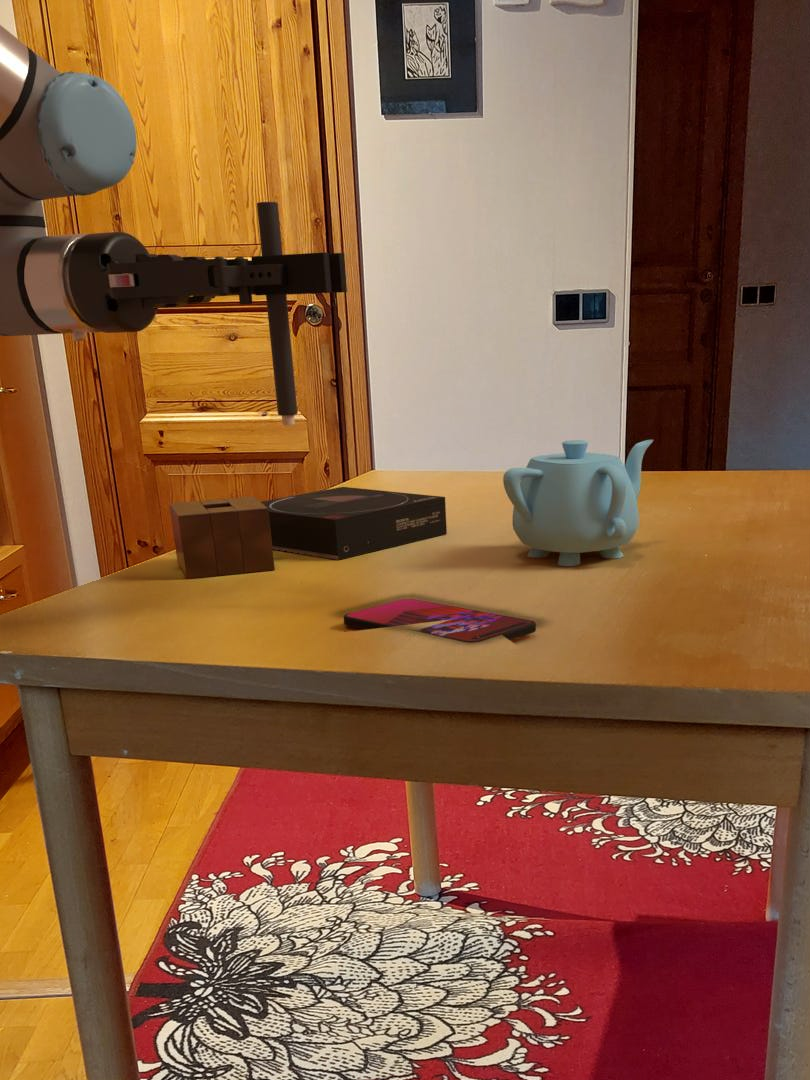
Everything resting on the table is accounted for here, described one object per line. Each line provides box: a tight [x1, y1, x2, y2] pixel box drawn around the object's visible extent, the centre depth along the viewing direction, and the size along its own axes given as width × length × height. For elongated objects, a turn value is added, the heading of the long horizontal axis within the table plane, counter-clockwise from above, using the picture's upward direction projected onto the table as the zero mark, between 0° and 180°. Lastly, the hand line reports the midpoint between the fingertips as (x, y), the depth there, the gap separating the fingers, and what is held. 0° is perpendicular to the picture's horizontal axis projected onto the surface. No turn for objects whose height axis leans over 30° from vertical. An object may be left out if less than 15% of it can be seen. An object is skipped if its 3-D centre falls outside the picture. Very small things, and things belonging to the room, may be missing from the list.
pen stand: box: [168, 495, 276, 580], centre depth 117 cm, size 9×9×6 cm
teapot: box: [502, 439, 654, 567], centre depth 116 cm, size 13×14×11 cm
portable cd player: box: [260, 486, 448, 561], centre depth 129 cm, size 16×17×4 cm
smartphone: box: [343, 598, 537, 644], centre depth 92 cm, size 8×1×15 cm
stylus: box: [256, 201, 298, 427], centre depth 92 cm, size 2×2×16 cm
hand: (334, 272), depth 89 cm, fingers closed on stylus, 1 cm apart
